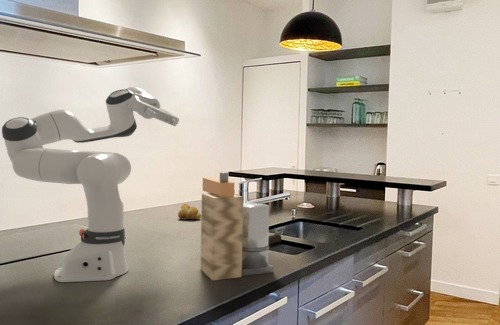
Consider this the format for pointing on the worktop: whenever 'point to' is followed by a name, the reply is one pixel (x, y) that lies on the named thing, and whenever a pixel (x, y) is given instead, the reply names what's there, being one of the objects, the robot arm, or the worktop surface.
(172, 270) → the worktop surface
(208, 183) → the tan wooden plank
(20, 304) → the worktop surface
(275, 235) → the hand tool
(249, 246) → the motor housing
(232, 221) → the zigzag patterned pillar
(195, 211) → the bread roll
